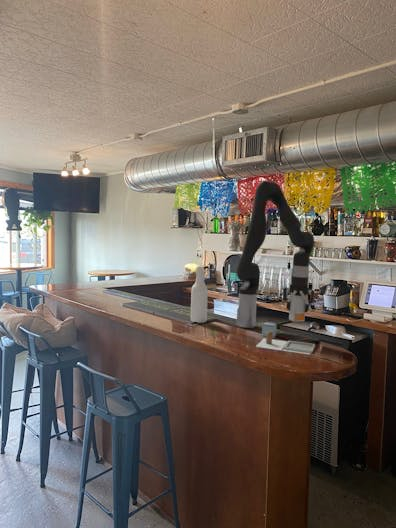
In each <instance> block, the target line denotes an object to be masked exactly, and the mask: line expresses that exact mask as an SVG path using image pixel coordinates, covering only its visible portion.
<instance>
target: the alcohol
mask: <svg viewBox="0 0 396 528" xmlns="http://www.w3.org/2000/svg"><path fill="white" fill-rule="evenodd" d="M204 270H205V267H204V265H196V274H195V275H196V276H195V282H194V284H193V285H192V286H191V293H190V294H191V296H190V298H191V299H190V322H192V323H194V322H197V323H196V324H204V323H206V322H207V320H208V319H207V318H208V299H209V298H208V295H209V293H208V292H209V290H208V286H207V284H206V283H205V271H204Z"/></svg>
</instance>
